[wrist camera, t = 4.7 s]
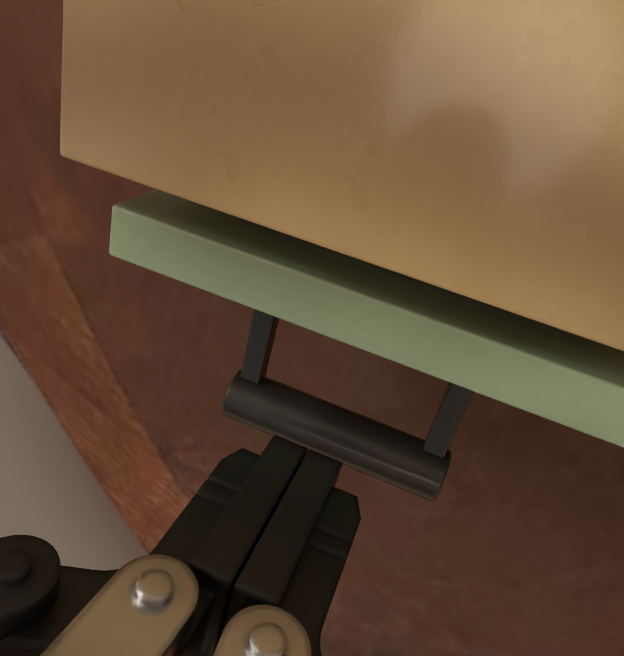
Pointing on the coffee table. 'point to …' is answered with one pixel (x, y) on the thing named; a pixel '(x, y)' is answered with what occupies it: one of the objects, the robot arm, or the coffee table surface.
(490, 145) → the cabinet
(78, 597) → the robot arm
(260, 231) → the drawer
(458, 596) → the coffee table surface
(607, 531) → the coffee table surface
